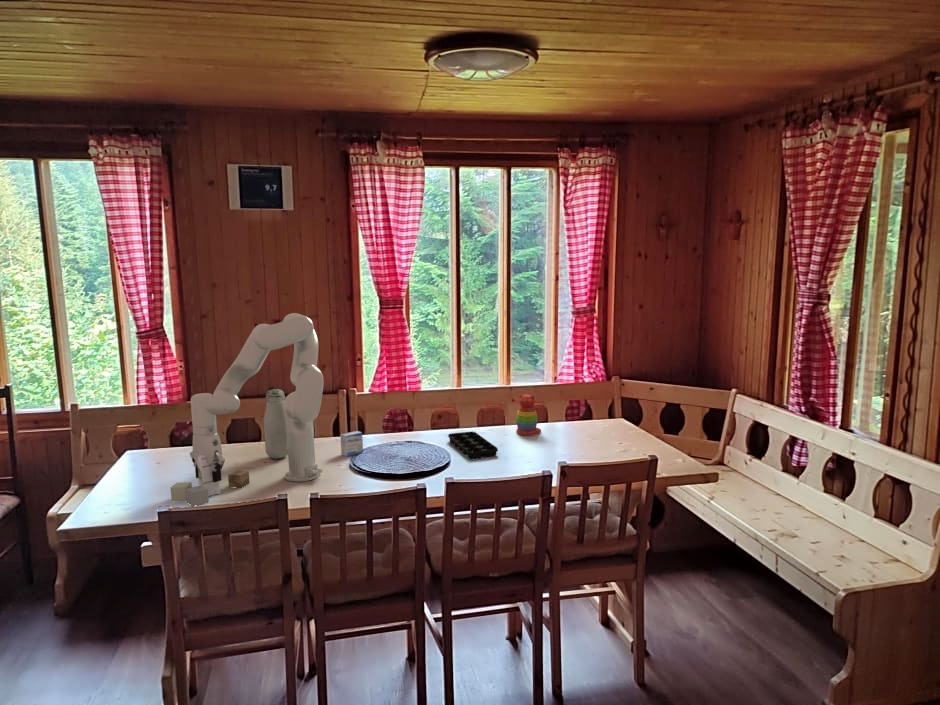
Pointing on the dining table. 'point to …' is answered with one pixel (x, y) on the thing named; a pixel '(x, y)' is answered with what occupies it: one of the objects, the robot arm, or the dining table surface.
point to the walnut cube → (238, 478)
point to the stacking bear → (527, 417)
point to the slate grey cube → (197, 495)
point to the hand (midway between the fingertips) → (208, 479)
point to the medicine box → (351, 443)
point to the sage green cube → (180, 491)
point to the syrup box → (207, 476)
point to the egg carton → (473, 445)
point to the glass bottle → (275, 425)
